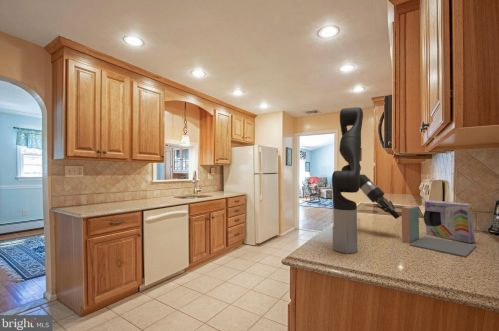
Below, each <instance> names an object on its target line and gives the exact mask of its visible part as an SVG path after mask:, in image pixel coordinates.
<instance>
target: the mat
mask: <svg viewBox="0 0 499 331" xmlns="http://www.w3.org/2000/svg"><path fill="white" fill-rule="evenodd" d="M409 247H415V248H419V249H422V250H423V249H425V250H428V251H434V252H438V253H443V254H448V255H452V256H457V257H462V258H467V257H468V256H469V255H470V254H471V253H472V252H473V251H474V250H475V248H477V245H474V244H469V243H466V242H460V241H455V240H453V241H452V240H449V239H442V238H441V239H440V238H435V237H429V236H426V235H425V236H423V237H419V239H417V240H415V241H413V242H411V243H409Z"/></svg>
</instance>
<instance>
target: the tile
mask: <svg viewBox="0 0 499 331" xmlns="http://www.w3.org/2000/svg"><path fill="white" fill-rule="evenodd" d="M419 216H420V215H419V205H416V204H415V205H413V204H409V205H406V206H402V207H401V241H402V243H406V244H411V243H413V242H415V241H417V240H419V239H420V220H419V219H420V218H419Z"/></svg>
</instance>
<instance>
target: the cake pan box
mask: <svg viewBox="0 0 499 331" xmlns="http://www.w3.org/2000/svg"><path fill="white" fill-rule="evenodd" d="M472 205H473V204H472V203H464V202H454V201H442V200H441V201H440V200H425V201H424V212H423V222H424V224H425V227H426V228H425V229H426V235H428V236H433V237H439V238H441V239H442V238H443V239H446V240H451V241H452V240H453V241H456V242H462V243H467V244H469V243H475V241H476V240H475V239H476V238H475V237H476V236H475V227H474V218H473V217H474V216H473V208H472V207H473V206H472Z"/></svg>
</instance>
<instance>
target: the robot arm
mask: <svg viewBox="0 0 499 331" xmlns="http://www.w3.org/2000/svg"><path fill="white" fill-rule="evenodd" d="M363 120H364V112H363V109H362V108H361V107H346V108H342V109H340V112H339V124H340V132H341V138H340V142H339V149H338V150H339V153H340V155H341V157H342V158H343V159H344V161H345V162H347V164H346V165H344V166H343V167H342V168H341V170H335V171H332V172H333V173H332V176H331V185H332V186H331V189H332V211H333V212H332V213H333V216H332V217H333V218H332V220H333V224H332V250H333V251H336V252H340V253H342V254H346V255H347V254H355V253H357V252H358V210H357V208H358V206H357V202H356V201H354V200H351V199H348V198H347V197H345V196H344V195H342V193H348V194H349V193H355V194H356V193H358V192H359V190H361V192H362V193H363V194H364V195H365V196H366V197H367V198H368V200H370V202H372V203H376V204H377V205H376V207H377V208H379V209H380V210H383V211H384V212H385V213H389V214H390V215H391V216H392V218H394V219H395V220H397V219H398V218H400V217H401V216H400V214H399V213H398V212H397V211H396V210H395V209H396V207H395V205H394V204H393V202H392V201H391V200H388V199H387V198H386V197H385V191H383V190H382V189H381V188H380V187H379V186H377V184H376V183H375V182H373V181H372V180H371V179H370V178H369V177H368V176H367V175H366V174H364V173H363V174H362V173H361V170H362V166H361V164H360V161H361V153H362V152H361V150H362V126H363ZM348 126H349V127H350V126H351V127H350V128H348Z"/></svg>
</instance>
